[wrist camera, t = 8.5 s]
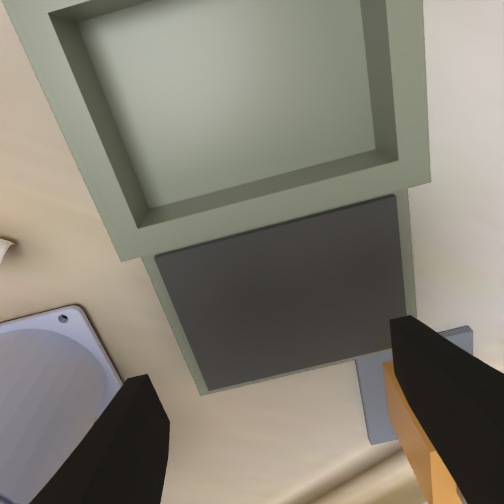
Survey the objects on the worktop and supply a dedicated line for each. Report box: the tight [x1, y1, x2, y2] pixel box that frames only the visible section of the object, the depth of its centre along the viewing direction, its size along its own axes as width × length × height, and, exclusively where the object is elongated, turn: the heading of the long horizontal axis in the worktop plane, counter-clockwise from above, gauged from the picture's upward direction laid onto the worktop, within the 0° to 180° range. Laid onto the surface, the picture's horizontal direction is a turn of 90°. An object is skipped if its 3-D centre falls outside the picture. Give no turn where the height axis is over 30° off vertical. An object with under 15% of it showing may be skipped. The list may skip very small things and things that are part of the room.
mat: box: [355, 326, 473, 445], centre depth 24 cm, size 7×8×1 cm
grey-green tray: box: [2, 0, 431, 396], centre depth 17 cm, size 13×20×4 cm, turn 14°
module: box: [382, 360, 467, 504], centre depth 21 cm, size 4×5×7 cm
